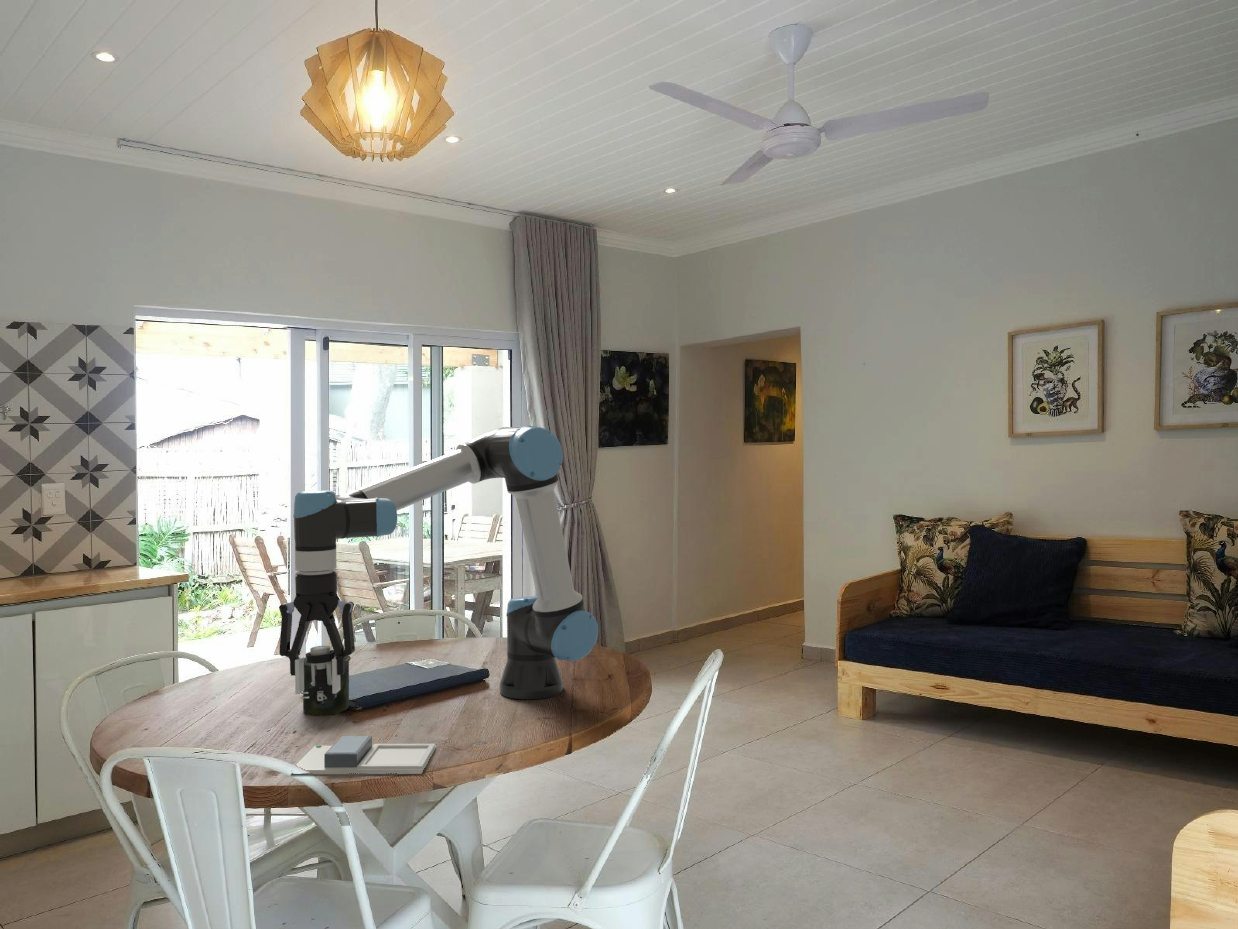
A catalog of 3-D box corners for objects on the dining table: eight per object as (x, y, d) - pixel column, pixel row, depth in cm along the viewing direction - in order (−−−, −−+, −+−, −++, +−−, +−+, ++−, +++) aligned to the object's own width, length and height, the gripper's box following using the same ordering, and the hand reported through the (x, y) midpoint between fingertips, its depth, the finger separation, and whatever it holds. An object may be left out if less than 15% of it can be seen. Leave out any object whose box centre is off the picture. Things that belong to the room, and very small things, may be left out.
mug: (354, 703, 216) (354, 652, 215) (343, 721, 201) (342, 667, 201) (307, 704, 214) (307, 653, 214) (292, 723, 200) (291, 668, 200)
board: (435, 749, 182) (435, 742, 182) (421, 774, 168) (421, 767, 168) (314, 749, 182) (314, 743, 182) (290, 774, 168) (290, 767, 168)
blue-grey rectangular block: (372, 748, 180) (372, 735, 180) (356, 767, 169) (356, 753, 169) (341, 748, 180) (341, 735, 180) (324, 767, 169) (324, 753, 169)
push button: (297, 704, 172) (294, 652, 172) (306, 697, 178) (303, 645, 177) (332, 702, 172) (329, 650, 172) (340, 695, 178) (338, 643, 177)
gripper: (371, 568, 178) (373, 686, 179) (272, 569, 178) (274, 687, 179) (361, 573, 171) (363, 696, 171) (257, 575, 170) (260, 698, 171)
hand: (318, 691), depth 175 cm, fingers closed on push button, 6 cm apart
